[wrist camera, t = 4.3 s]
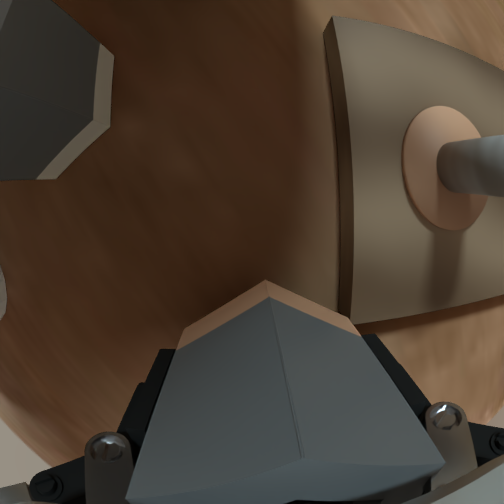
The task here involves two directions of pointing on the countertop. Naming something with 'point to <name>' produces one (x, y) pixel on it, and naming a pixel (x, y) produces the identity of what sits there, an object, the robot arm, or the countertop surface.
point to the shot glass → (2, 295)
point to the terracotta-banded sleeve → (280, 413)
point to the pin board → (415, 172)
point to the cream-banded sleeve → (49, 89)
